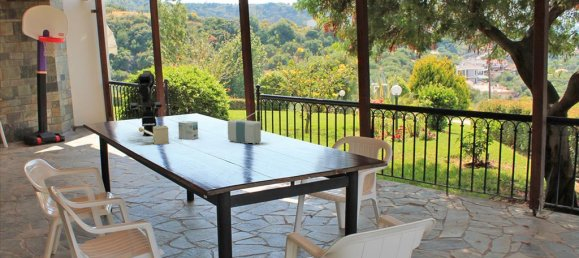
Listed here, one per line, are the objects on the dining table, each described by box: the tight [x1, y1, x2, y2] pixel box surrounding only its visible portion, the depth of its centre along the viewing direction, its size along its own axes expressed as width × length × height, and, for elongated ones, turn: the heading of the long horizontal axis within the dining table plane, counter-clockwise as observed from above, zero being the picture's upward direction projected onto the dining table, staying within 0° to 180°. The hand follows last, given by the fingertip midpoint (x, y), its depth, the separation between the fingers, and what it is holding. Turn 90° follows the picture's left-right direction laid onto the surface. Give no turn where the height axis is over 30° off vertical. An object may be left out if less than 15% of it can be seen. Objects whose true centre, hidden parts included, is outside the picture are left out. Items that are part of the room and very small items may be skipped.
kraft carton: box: [153, 125, 170, 145], centre depth 337 cm, size 8×10×10 cm
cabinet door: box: [138, 126, 154, 137], centre depth 334 cm, size 2×9×9 cm
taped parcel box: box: [227, 110, 262, 145], centre depth 337 cm, size 21×8×20 cm, turn 55°
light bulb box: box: [177, 120, 199, 140], centre depth 352 cm, size 11×7×11 cm, turn 71°
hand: (146, 119), depth 347 cm, fingers open, 9 cm apart
